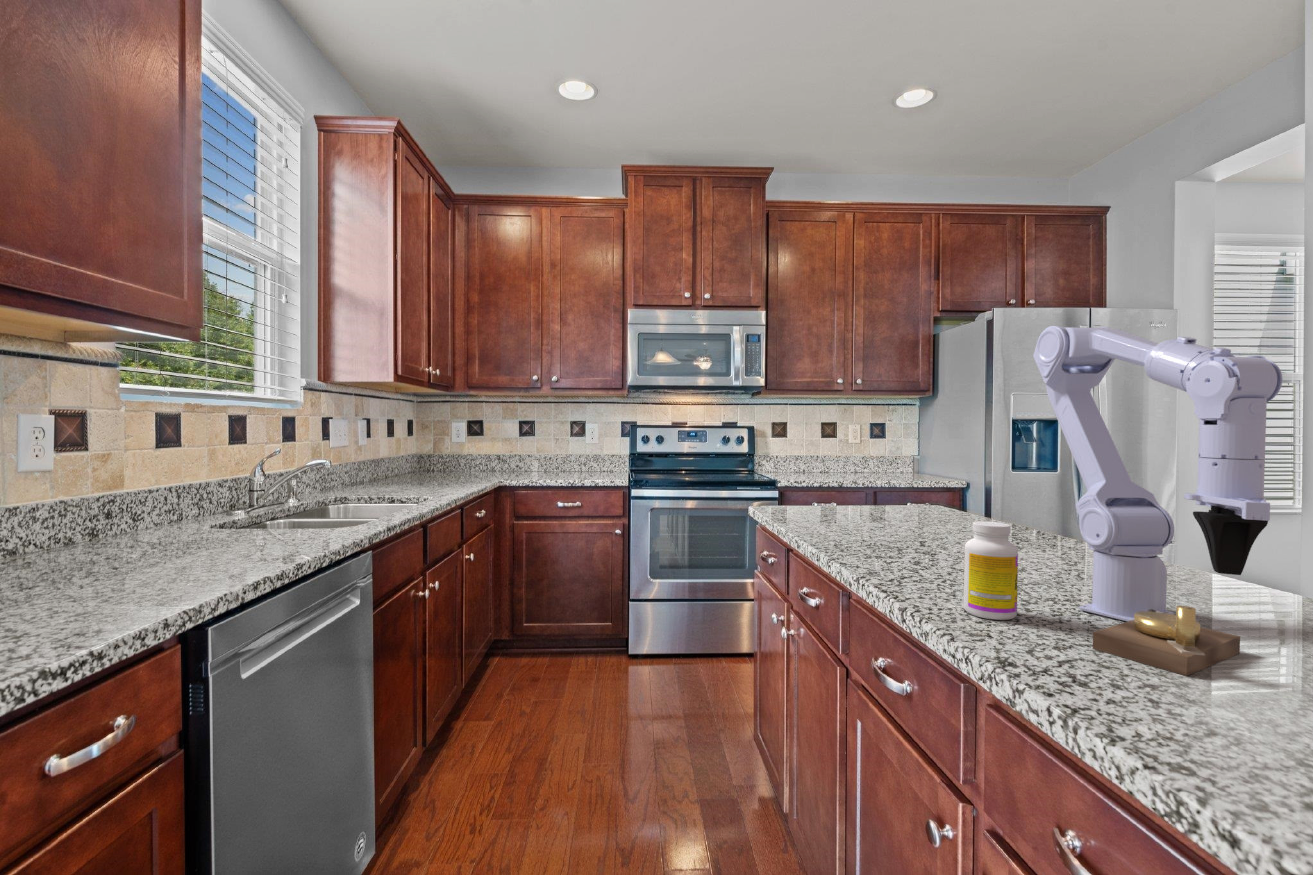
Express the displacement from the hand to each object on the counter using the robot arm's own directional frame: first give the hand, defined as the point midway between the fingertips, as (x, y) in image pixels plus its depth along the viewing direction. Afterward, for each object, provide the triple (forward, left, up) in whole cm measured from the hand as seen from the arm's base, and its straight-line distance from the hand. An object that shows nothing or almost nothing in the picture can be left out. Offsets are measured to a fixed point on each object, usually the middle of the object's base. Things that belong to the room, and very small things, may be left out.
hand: (1227, 573), depth 72 cm
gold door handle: (+8, -2, -7) cm, 11 cm away
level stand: (+6, -3, -9) cm, 12 cm away
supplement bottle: (+11, -22, -10) cm, 26 cm away
